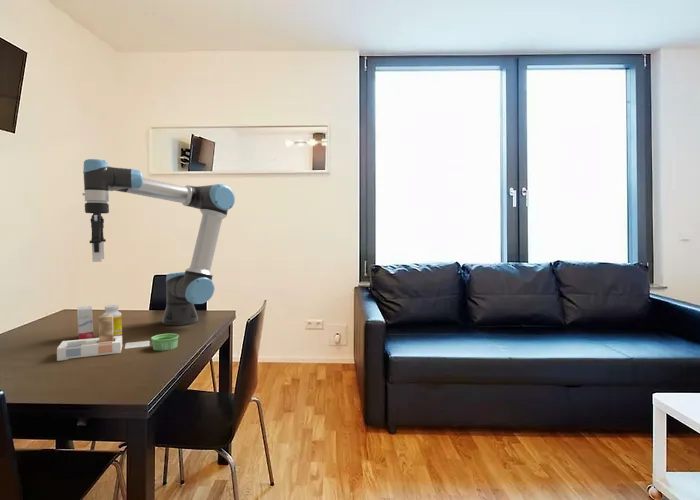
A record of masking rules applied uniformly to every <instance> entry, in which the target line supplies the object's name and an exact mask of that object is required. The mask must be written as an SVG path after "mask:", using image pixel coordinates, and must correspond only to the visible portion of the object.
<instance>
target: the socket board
mask: <svg viewBox="0 0 700 500" xmlns="http://www.w3.org/2000/svg"><path fill="white" fill-rule="evenodd" d="M122 348H123V335H122V336H114V341H113V342H112V341H107V342H99V337H95V338H94V337H93V338H89V339H80V340H79V339H73V340H71V339H70V340H62V341H61V343H60V344H59V345H58V346H57V348H56V361H57V362H58V361H68V360H70V359H77V358H86V357H95V356H96V357H97V356H102V355H113V354H121V353H122Z"/></svg>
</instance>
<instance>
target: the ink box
mask: <svg viewBox="0 0 700 500" xmlns="http://www.w3.org/2000/svg"><path fill="white" fill-rule="evenodd" d="M76 309H77V311H76V313H77V314H76V315H77V316H76V317H77V333H78V340H80V339H91V338H94V321H93V309H92V306H91V305H85V306H77V308H76Z"/></svg>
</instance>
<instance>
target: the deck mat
mask: <svg viewBox="0 0 700 500" xmlns="http://www.w3.org/2000/svg"><path fill="white" fill-rule="evenodd" d="M150 343H151V341H150V340H143V341H142V340H141V341H135V342H134V341H132V342H126V343H125V344H124V345H125V346H124V349H126V350H127V349H133V348H144V347H145V348H146V347H150V346H151V344H150Z"/></svg>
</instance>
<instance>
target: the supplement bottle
mask: <svg viewBox="0 0 700 500" xmlns="http://www.w3.org/2000/svg"><path fill="white" fill-rule="evenodd" d="M119 309H120V308H119V304H118V305H117V304H110V305H105V306H104V311H105V312H104V313H102V315H113V336H122V337H123V320H122V318H123V317H122V313H121V311H119Z"/></svg>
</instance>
